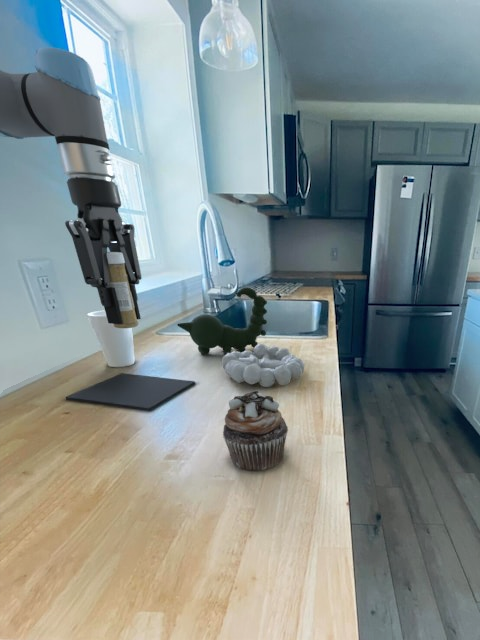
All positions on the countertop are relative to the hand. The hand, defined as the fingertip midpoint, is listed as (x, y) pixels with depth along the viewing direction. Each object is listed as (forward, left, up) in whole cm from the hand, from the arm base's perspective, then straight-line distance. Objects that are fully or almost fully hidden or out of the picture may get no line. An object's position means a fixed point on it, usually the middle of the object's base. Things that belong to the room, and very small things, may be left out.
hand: (125, 320), depth 73 cm
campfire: (+21, +18, -15) cm, 32 cm away
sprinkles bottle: (0, 0, -1) cm, 1 cm away
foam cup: (-19, +16, -15) cm, 29 cm away
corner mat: (-2, 0, -15) cm, 15 cm away
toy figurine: (+2, +35, -15) cm, 38 cm away
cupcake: (+35, -18, -15) cm, 43 cm away
